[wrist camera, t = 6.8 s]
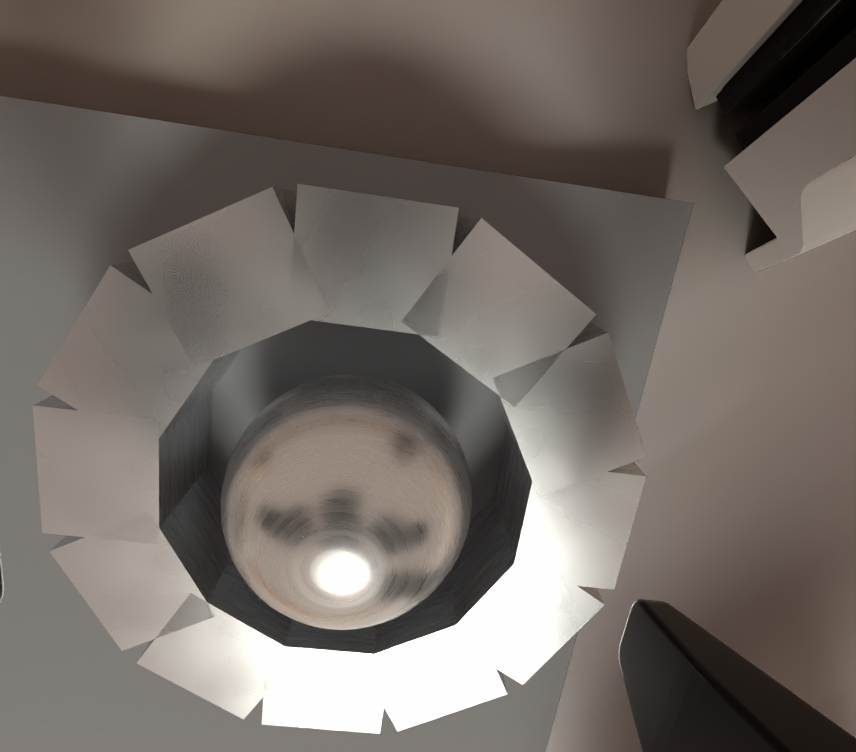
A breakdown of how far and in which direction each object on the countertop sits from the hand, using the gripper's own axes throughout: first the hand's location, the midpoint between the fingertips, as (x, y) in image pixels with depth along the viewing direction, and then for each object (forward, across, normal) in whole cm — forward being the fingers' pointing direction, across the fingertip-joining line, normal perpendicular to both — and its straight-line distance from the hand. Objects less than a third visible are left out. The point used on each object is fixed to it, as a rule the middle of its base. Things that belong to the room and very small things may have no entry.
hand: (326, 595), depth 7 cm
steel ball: (+3, 0, 0) cm, 3 cm away
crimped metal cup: (+5, 0, 0) cm, 5 cm away
